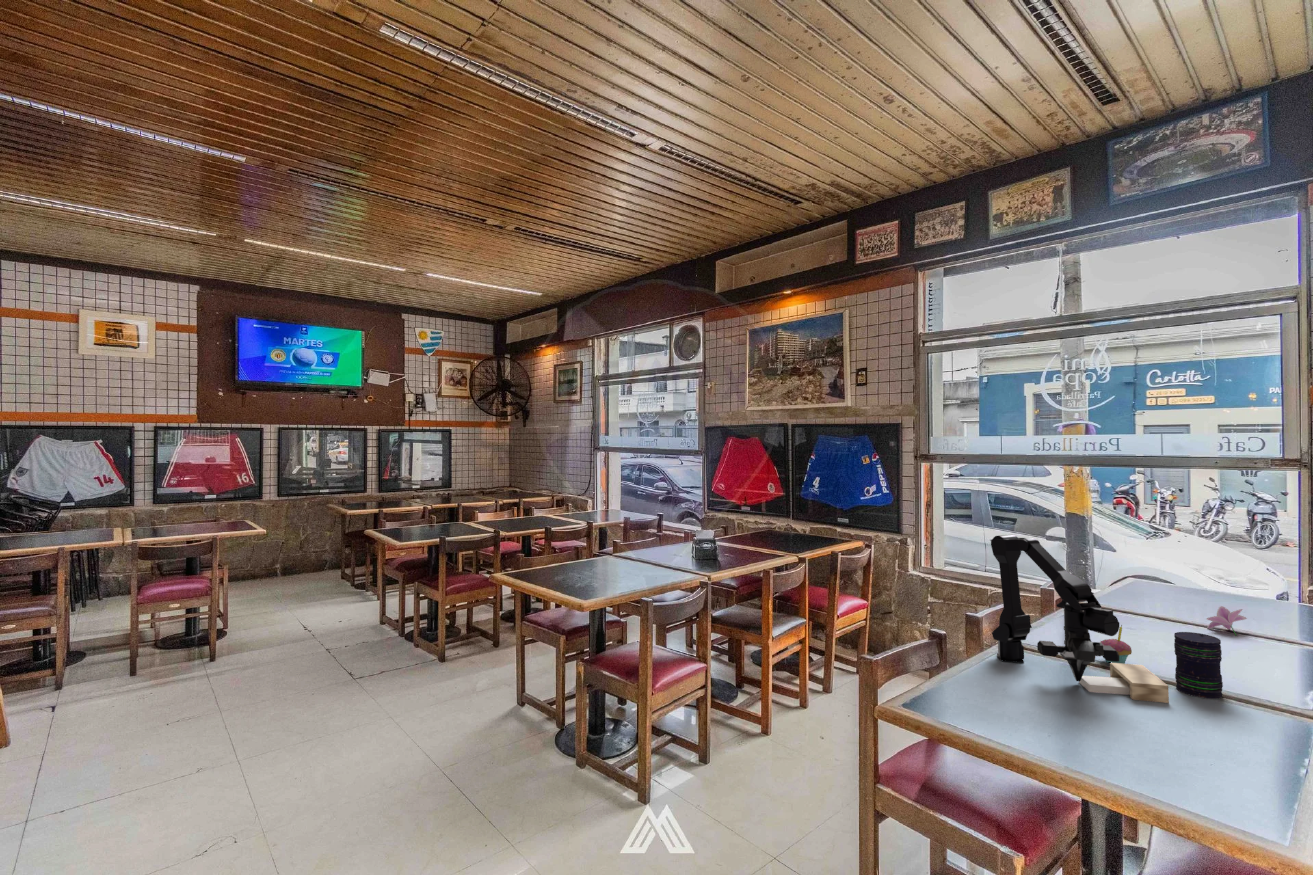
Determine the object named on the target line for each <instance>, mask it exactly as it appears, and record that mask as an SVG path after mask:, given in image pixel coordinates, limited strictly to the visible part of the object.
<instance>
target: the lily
mask: <svg viewBox="0 0 1313 875" xmlns="http://www.w3.org/2000/svg"><path fill="white" fill-rule="evenodd" d="M1243 610H1244V609H1242V608H1240V609H1236V610H1234V611H1233V610H1232V611H1230V610H1229V609H1228V608H1226V607H1225V606H1222V605H1220V606H1219V607H1218V609H1217V612H1216V615H1213V616H1210V617H1207V618H1206V620H1207V621H1210V623H1209V624H1208V625H1207V627H1206V629H1208V630H1209V629H1212V628H1215V627H1219V626H1222V627H1223V628H1225V629H1226V628H1227V630H1228V629H1230V630H1232V631H1233V634H1234V635H1235V636H1237V633H1236V631H1235V630H1234V627H1233V623H1234V622H1239V621H1245V620H1247V619H1248V617H1246V616H1244V615H1241V612H1243Z"/></svg>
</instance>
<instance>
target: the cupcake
mask: <svg viewBox="0 0 1313 875" xmlns="http://www.w3.org/2000/svg"><path fill="white" fill-rule="evenodd" d="M1122 631H1123V624H1120V626H1119V630H1118V633H1117V634H1118V635H1117V638H1109V639H1107V638H1106V639H1103V640H1100V642H1101V643H1102V644H1103V645H1106V646H1111V647H1112V648H1113V649H1115V650H1116V651H1117V652H1118V653H1119V661H1118V662H1116V661H1107V660H1105V662H1106V661H1107V662H1106V663H1108V662H1112V663H1122V664H1126V662H1127V658H1128V657H1129V655H1132V653H1133V652H1132V650H1133V649H1132V647H1131V646H1130V645H1129V644H1128V643H1127V642H1125V641H1124V640H1123V641H1122V640H1121V638H1122Z"/></svg>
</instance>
